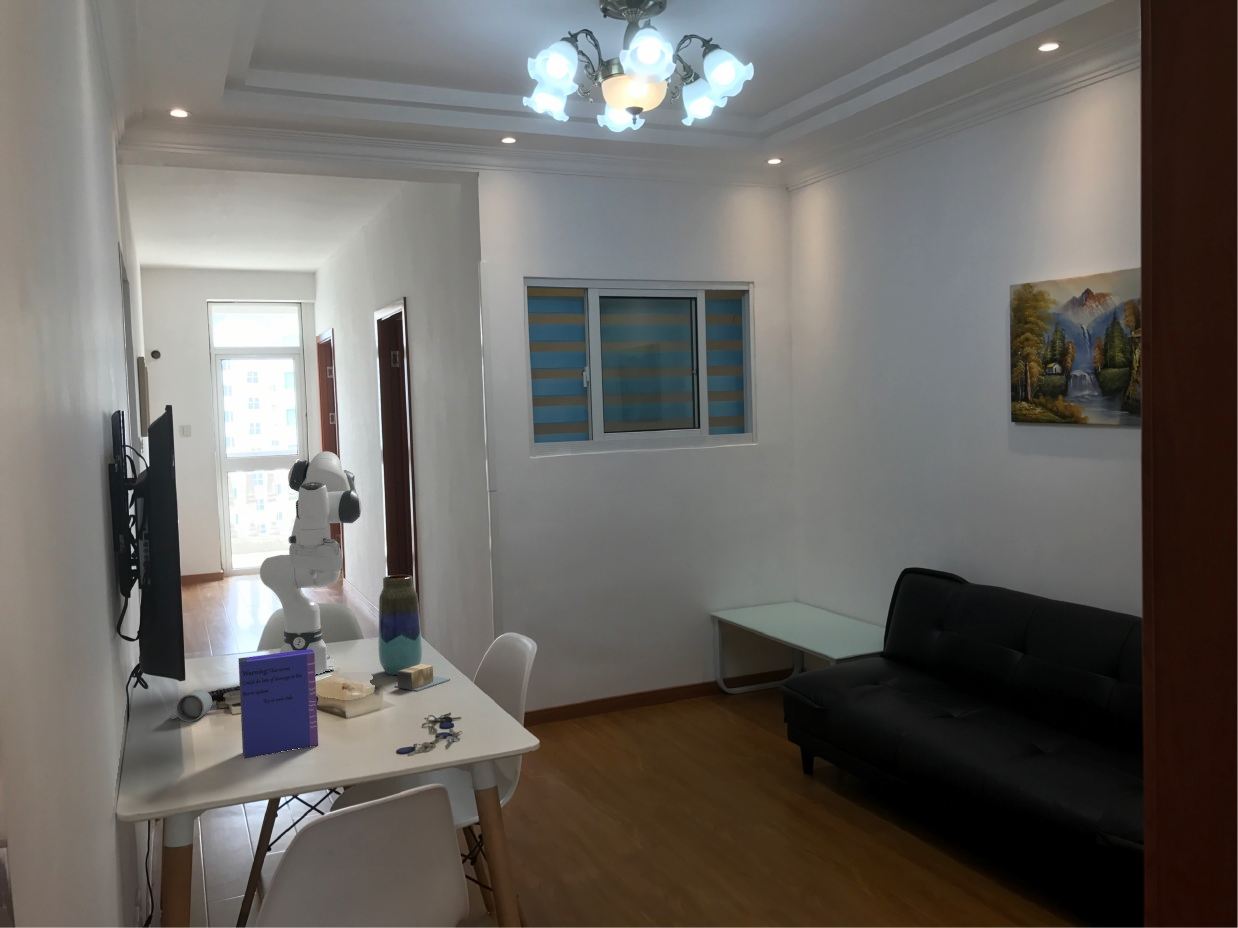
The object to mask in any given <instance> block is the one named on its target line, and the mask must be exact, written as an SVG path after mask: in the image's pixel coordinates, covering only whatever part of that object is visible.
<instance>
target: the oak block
mask: <svg viewBox="0 0 1238 928" xmlns="http://www.w3.org/2000/svg"><path fill="white" fill-rule="evenodd" d="M396 676H397V685H398V687H399V689H403V688H404V690H408V691H411V690H410V689H413V688H416V687H419V686H422V685H425V684H428V683H431V682H433V676H434V667H433V665H429V664H424V663H420V664H419V665H416V666H413V667H409V668H406V669H403V670H399V671H397V675H396ZM398 687H397V688H398Z"/></svg>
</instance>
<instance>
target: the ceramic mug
mask: <svg viewBox="0 0 1238 928" xmlns="http://www.w3.org/2000/svg"><path fill="white" fill-rule="evenodd" d="M212 704H213V699H212V696H211V694H210V692H208V691H206V690H204V689H196V690H192V691H190V692H189V693H187V694H184V695H182V696H181V697H180V698H179V699H178V701H177V703H176V705H175V711H173V712H171V713H169V718H170V719H171V720H174V719H177V718H179V719H180V720H182V721H184V722H187V723H192V722H196V721H198V720H199V719H201V718H202V717H203V716H204V715H206V714H207V713H208V712H209V710H210V709H211V707H212V706H213V705H212Z"/></svg>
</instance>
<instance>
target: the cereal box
mask: <svg viewBox="0 0 1238 928" xmlns="http://www.w3.org/2000/svg"><path fill="white" fill-rule="evenodd" d="M238 674H239V675H238V678H239V698H240V699H239V701H240V703H239V704H240V723H241V744H242V746H241V747H242V748H241V749H242V755H243V757H244V759H251V758H256V756H257V757H261V755H263V756H267V755H266V754H268V755H273V754H272V753H274V754H279V753H278V752H280V753H282V752H281V751H286V752H288V751H287V750H292V749H297V750H299V749H298V748H303V749H306V748H305V747H309V748H311V747H310V746H315V747H319V733H318V732H319V731H318V730H319V728H318V727H319V726H318V707H317V706H318V705H317V704H318V702H317V686H316V685H317V684H316V683H317V682H316V675H315V654H314V651H313V650H312V649H307V650H299V651H292V652H284V653H280V652H279V653H270V654H262V655H254V656H247V657H239V658H238ZM292 751H293V750H292ZM250 757H251V758H250Z"/></svg>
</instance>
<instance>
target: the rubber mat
mask: <svg viewBox="0 0 1238 928" xmlns="http://www.w3.org/2000/svg"><path fill="white" fill-rule="evenodd" d="M448 680H450V681H451V678H448V677H447V678H446V677H443V676H442V677H441V676H437V675H436V676H435V675H433V682H431V683H428V684H425V685H422V686H419V687H416V688H413V689H410V690H409V691H414V692H419V691H422V690H426V689H428V688H432V687H434V686H433V685H435V686H437V684H438V685H441V684H443V683H442V682H444V683H446V682H445V681H447V682H449V681H448ZM440 683H441V684H440ZM394 688H399V687H398V684H395V685H394ZM399 689H400V688H399ZM403 689H404V688H402V690H403ZM404 690H405V689H404Z"/></svg>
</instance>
